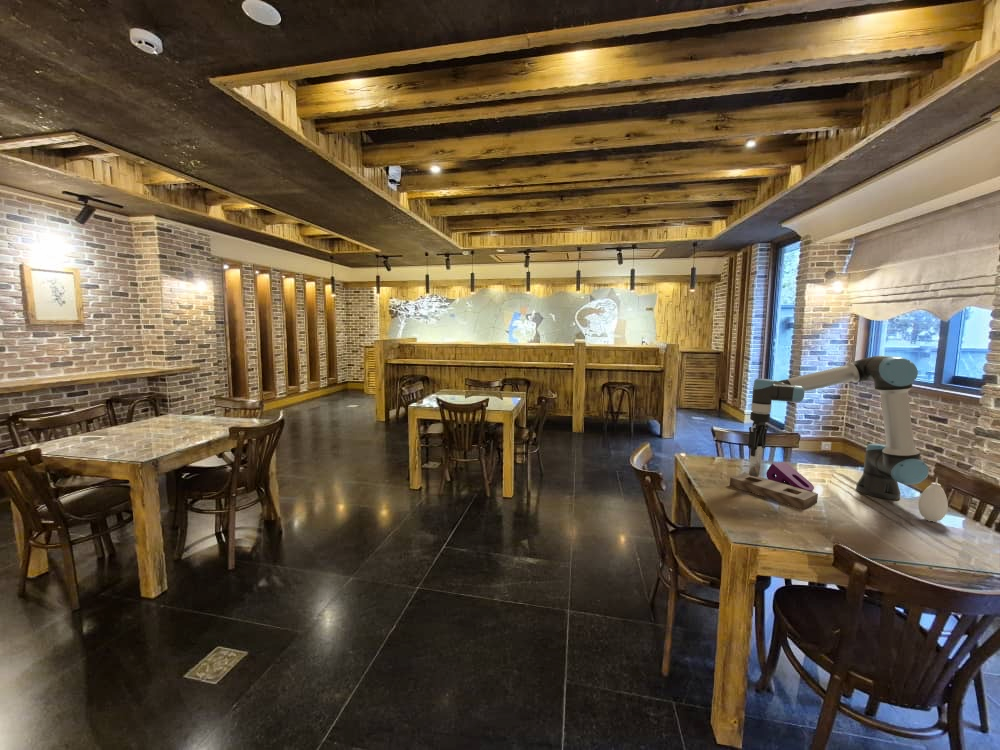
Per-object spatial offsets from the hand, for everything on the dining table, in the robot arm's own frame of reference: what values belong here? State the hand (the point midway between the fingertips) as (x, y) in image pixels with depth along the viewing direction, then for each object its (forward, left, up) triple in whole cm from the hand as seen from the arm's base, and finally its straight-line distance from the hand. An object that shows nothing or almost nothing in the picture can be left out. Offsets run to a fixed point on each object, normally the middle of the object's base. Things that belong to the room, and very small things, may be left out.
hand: (755, 461), depth 192 cm
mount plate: (-8, 0, -13) cm, 15 cm away
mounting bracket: (-8, -20, -13) cm, 25 cm away
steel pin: (0, 0, -7) cm, 7 cm away
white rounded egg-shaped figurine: (-54, -27, -13) cm, 62 cm away
